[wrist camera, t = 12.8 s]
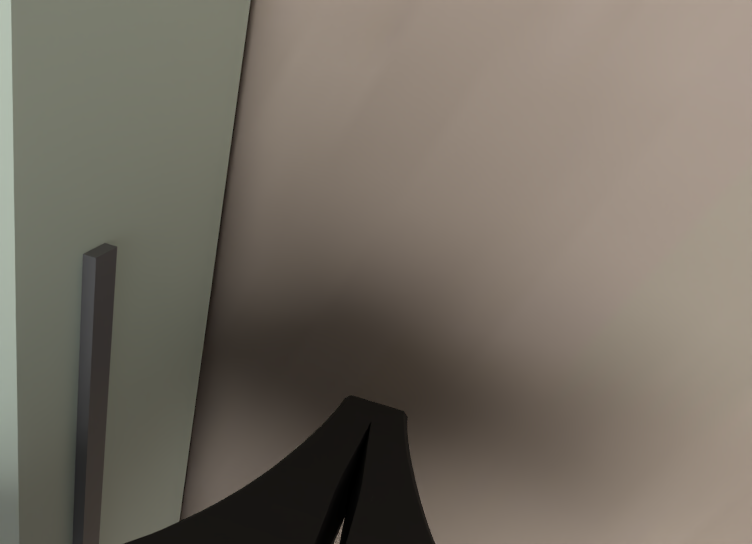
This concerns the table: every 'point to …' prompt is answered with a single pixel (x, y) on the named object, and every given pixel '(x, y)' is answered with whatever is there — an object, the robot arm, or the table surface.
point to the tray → (107, 254)
